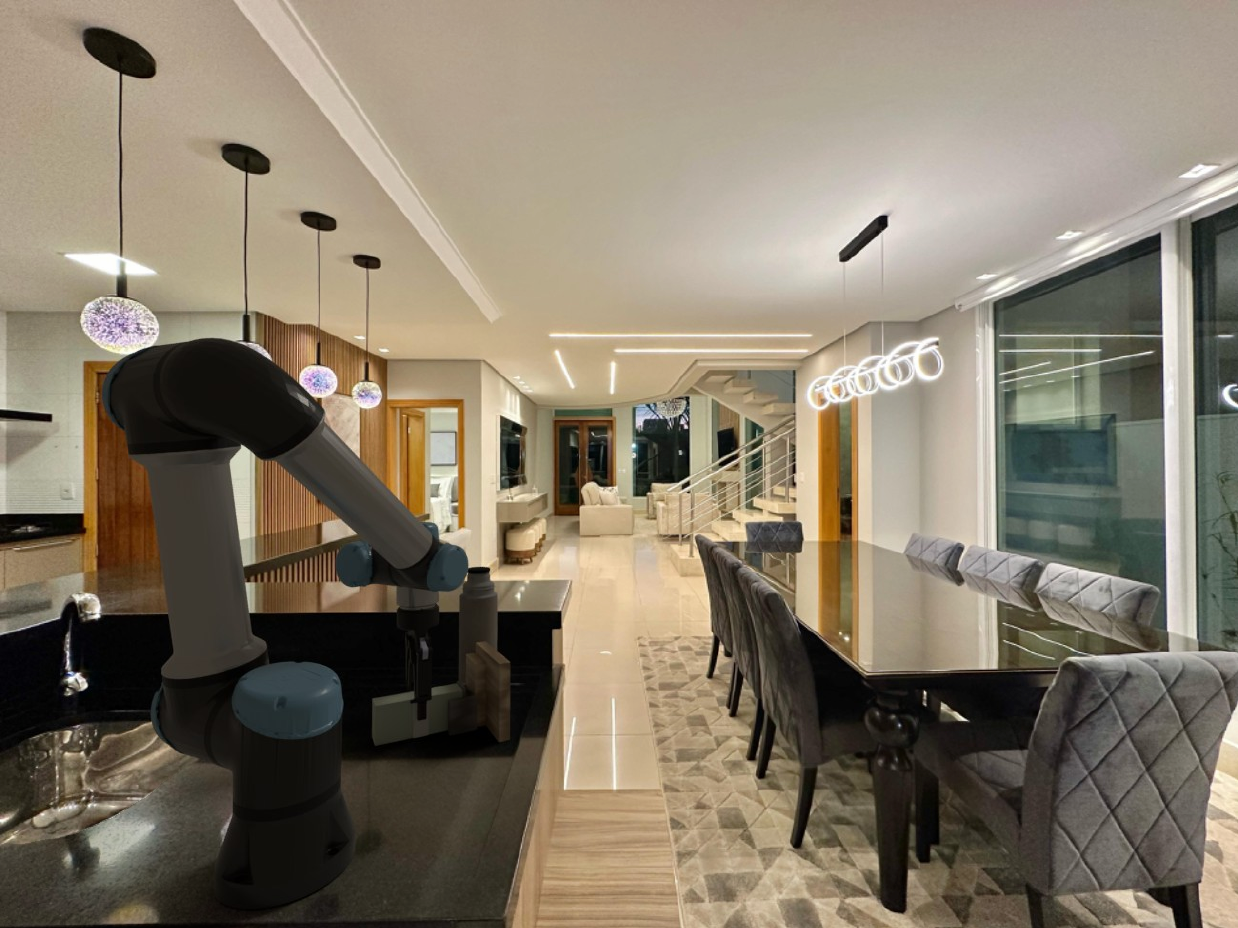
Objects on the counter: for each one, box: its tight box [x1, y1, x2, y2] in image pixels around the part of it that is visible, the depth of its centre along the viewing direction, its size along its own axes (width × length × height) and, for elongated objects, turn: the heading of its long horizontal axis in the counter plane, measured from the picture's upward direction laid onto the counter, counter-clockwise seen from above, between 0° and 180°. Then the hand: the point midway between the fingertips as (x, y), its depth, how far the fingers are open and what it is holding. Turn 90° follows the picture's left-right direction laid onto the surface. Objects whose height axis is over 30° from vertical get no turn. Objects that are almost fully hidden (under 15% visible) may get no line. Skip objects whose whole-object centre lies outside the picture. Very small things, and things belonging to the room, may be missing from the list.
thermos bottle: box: [458, 566, 499, 684], centre depth 124 cm, size 8×8×28 cm
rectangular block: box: [371, 680, 466, 747], centre depth 108 cm, size 16×4×7 cm, turn 120°
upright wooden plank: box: [447, 641, 511, 743], centre depth 110 cm, size 9×16×14 cm, turn 30°
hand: (418, 730), depth 108 cm, fingers closed on rectangular block, 4 cm apart
